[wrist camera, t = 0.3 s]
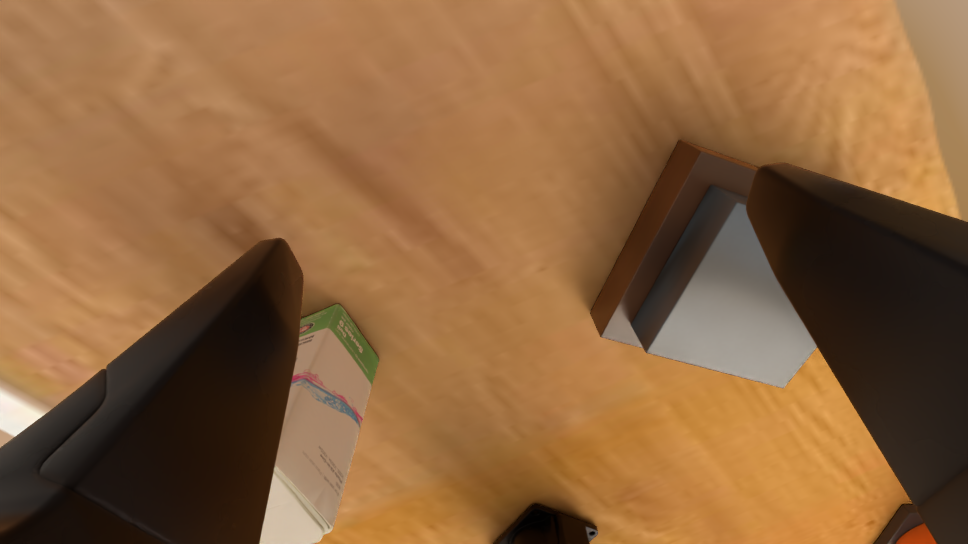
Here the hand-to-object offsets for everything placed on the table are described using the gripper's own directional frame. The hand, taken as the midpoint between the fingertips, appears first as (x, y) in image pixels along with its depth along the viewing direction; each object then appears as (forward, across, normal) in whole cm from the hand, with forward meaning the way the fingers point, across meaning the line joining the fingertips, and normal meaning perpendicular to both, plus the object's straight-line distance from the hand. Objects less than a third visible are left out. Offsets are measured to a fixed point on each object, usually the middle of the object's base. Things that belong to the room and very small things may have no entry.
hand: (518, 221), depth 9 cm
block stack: (+12, -12, +14) cm, 22 cm away
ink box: (+12, +13, +16) cm, 24 cm away
